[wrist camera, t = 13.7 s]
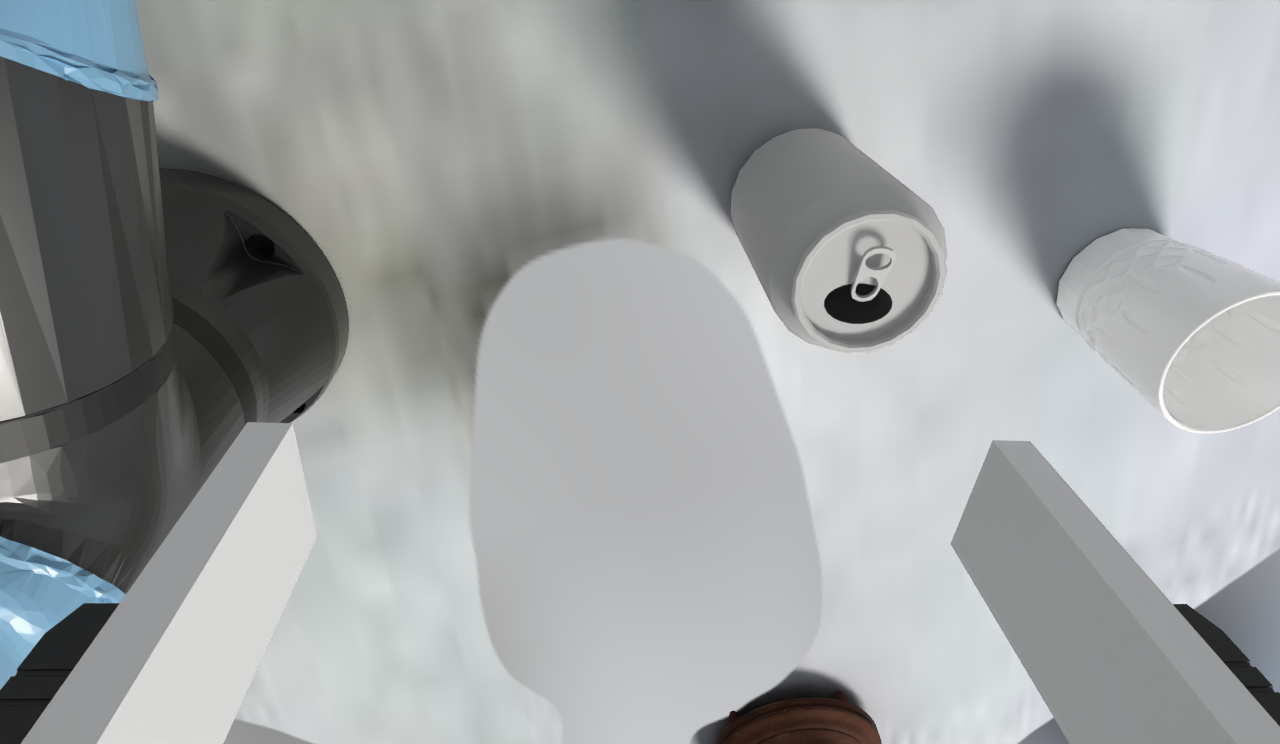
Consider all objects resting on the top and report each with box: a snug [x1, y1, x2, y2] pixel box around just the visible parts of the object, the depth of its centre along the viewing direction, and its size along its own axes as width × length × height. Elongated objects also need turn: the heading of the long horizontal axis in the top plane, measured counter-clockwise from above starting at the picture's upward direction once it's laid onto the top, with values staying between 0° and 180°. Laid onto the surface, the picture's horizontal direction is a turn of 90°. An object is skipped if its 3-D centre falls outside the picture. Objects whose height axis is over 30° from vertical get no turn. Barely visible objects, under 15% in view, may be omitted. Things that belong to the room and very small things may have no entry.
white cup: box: [1056, 228, 1280, 433], centre depth 38 cm, size 8×8×10 cm
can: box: [731, 128, 947, 353], centre depth 33 cm, size 8×8×12 cm
